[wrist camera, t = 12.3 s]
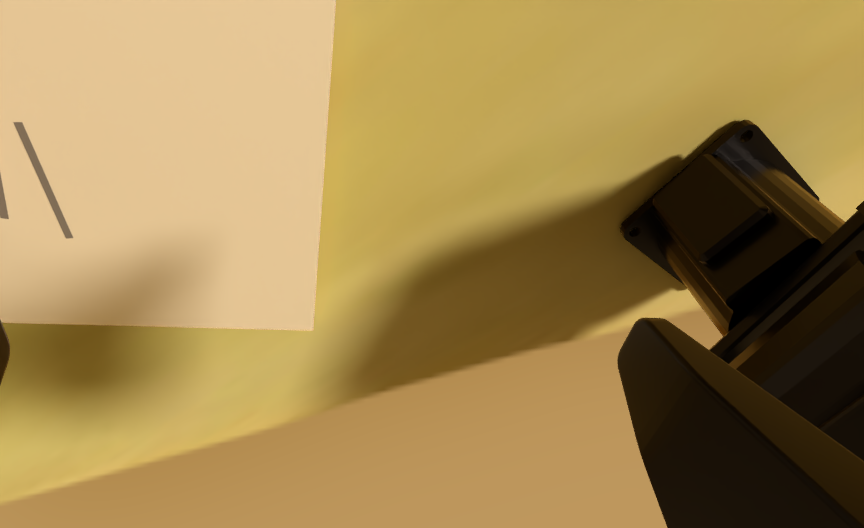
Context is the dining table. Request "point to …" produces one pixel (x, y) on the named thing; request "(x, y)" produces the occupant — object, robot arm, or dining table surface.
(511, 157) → the dining table surface
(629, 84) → the dining table surface
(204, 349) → the dining table surface
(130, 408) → the dining table surface
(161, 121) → the board
